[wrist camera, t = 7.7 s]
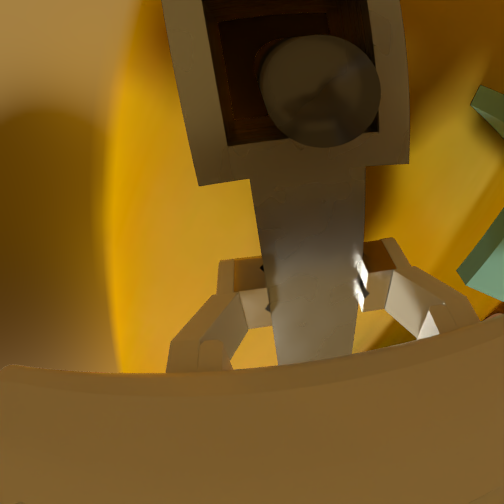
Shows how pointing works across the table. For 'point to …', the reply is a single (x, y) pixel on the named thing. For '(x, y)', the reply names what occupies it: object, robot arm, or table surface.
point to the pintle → (318, 88)
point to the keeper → (500, 232)
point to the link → (295, 163)
